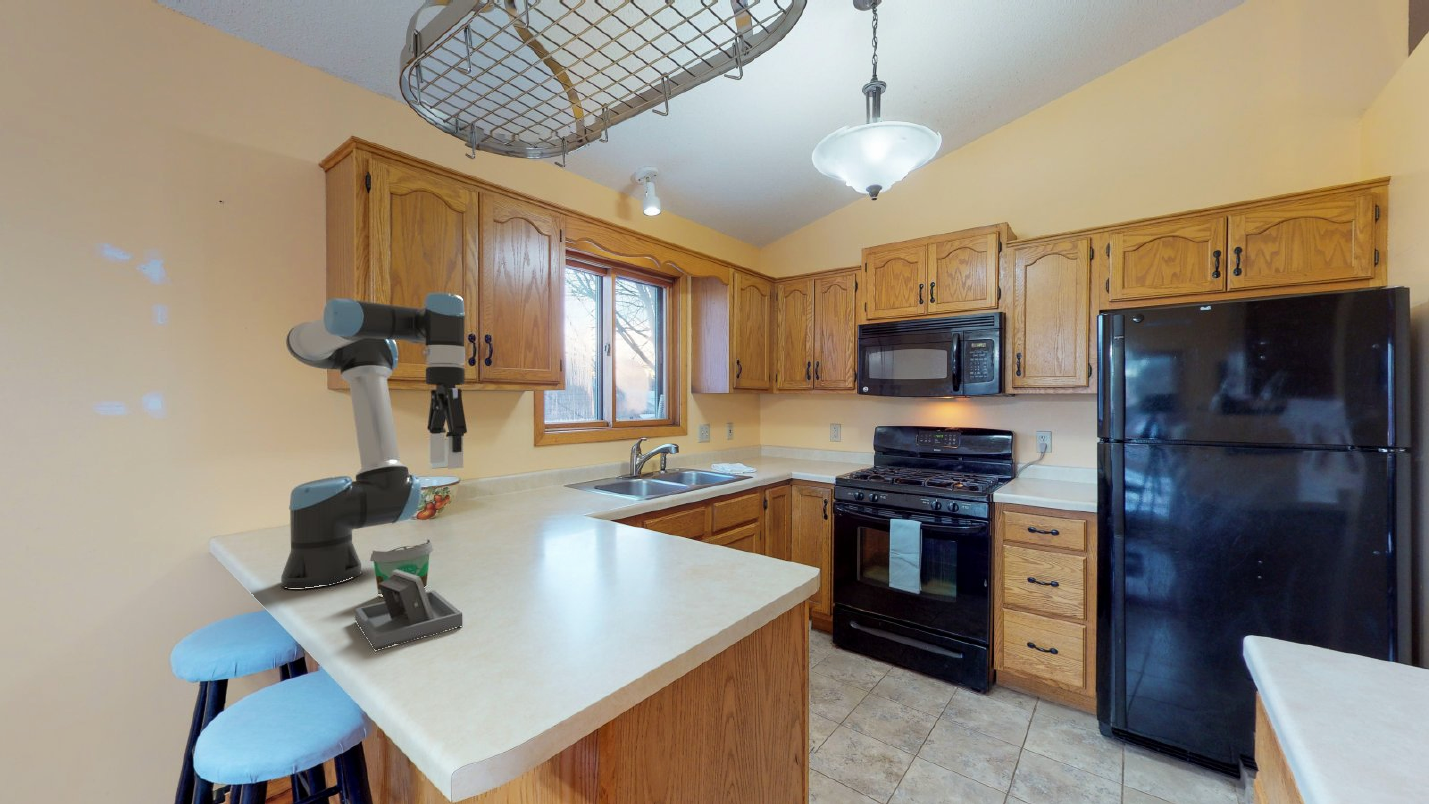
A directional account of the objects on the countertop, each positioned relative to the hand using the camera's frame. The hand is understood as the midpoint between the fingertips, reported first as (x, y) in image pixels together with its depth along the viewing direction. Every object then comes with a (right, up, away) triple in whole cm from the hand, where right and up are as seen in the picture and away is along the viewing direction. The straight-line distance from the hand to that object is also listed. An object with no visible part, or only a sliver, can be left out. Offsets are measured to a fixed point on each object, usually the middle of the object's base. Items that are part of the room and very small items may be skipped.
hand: (446, 465), depth 114 cm
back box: (+1, -27, -16) cm, 32 cm away
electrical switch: (+2, -27, -17) cm, 32 cm away
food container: (-9, -28, +1) cm, 29 cm away
